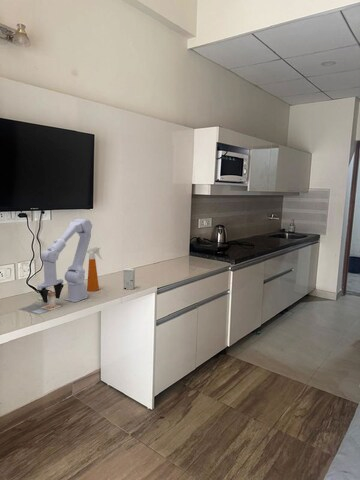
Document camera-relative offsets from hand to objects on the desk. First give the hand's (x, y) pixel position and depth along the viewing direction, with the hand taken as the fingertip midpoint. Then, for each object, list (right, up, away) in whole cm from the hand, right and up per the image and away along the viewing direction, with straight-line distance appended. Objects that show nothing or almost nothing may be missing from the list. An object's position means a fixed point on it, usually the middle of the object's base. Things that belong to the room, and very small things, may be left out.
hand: (51, 300), depth 174 cm
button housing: (-7, -3, +5) cm, 9 cm away
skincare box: (+34, +1, +35) cm, 49 cm away
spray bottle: (+15, 0, +31) cm, 34 cm away
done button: (-7, -2, +5) cm, 9 cm away
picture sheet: (-5, -4, 0) cm, 6 cm away
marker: (0, -4, 0) cm, 3 cm away
